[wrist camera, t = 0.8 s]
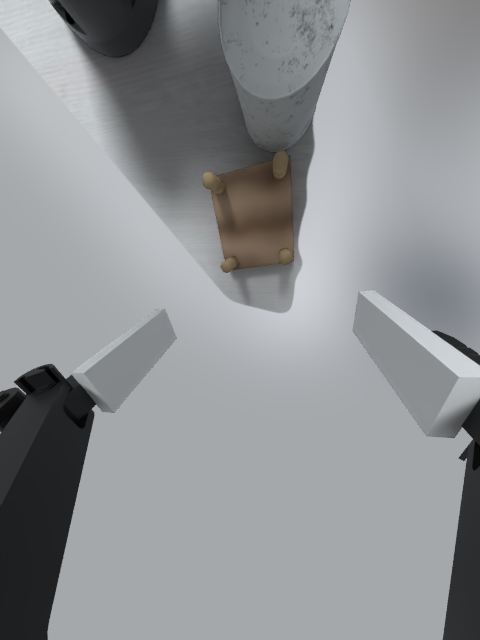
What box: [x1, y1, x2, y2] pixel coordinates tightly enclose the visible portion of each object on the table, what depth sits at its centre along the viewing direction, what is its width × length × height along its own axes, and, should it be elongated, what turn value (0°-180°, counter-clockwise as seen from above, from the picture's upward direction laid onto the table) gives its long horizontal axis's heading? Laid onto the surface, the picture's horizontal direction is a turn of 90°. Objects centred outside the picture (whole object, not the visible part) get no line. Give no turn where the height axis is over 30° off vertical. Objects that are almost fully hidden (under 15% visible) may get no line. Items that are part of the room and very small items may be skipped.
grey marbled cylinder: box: [218, 0, 351, 152], centre depth 18 cm, size 10×10×12 cm
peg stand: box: [202, 150, 294, 273], centre depth 27 cm, size 14×12×7 cm
